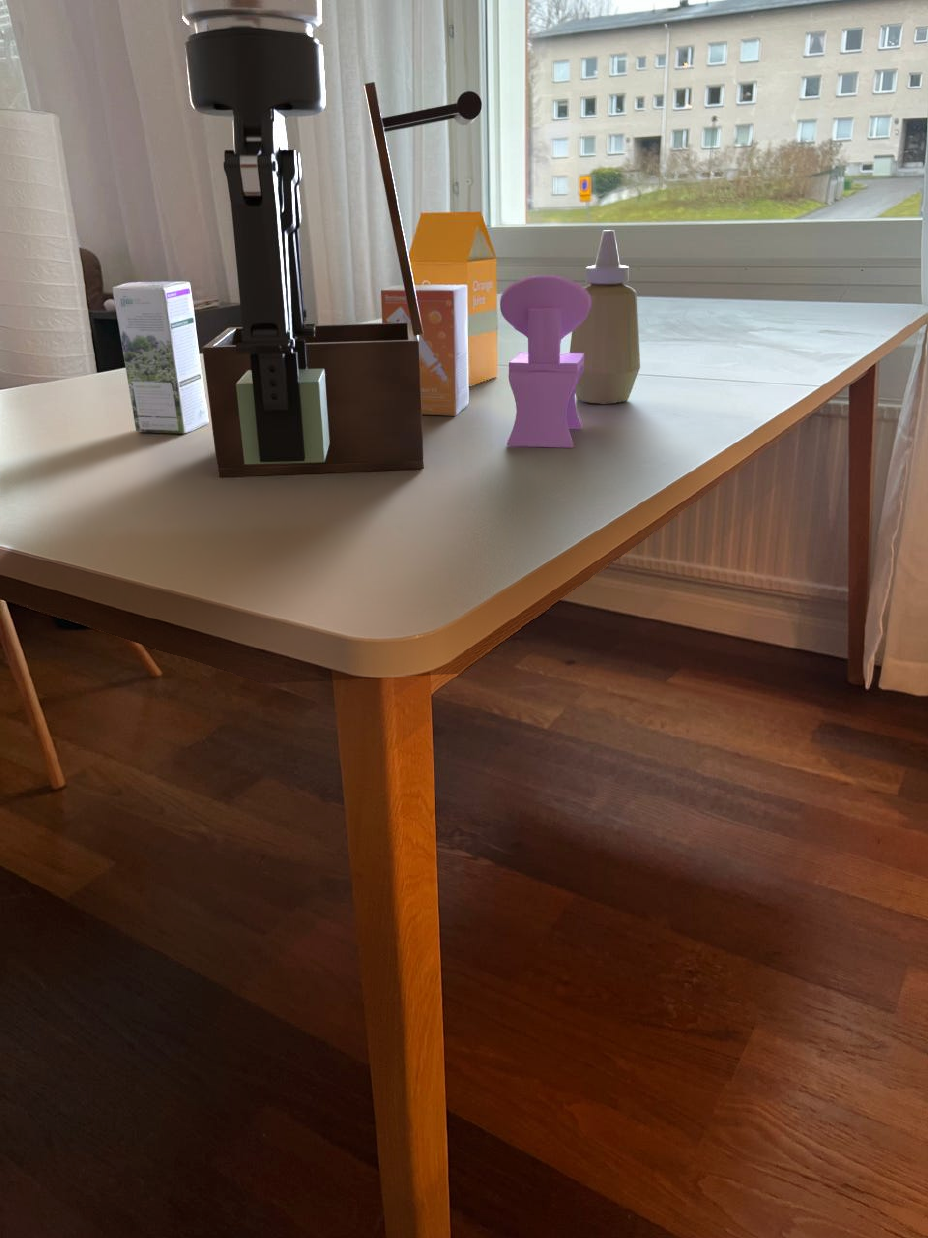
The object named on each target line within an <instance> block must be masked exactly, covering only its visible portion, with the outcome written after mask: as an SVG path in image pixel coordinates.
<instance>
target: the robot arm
mask: <svg viewBox="0 0 928 1238" xmlns="http://www.w3.org/2000/svg"><path fill="white" fill-rule="evenodd" d="M180 4H181V6H180V7H181V12H182V13H181V15H182V19H183V21H184V22H185V23H186V25H188V26H189V27H191V28H193V29H195V33H193V34H191V35H188V37H187V41H185V42H184V52H185V61H186V62H185V63H186V69H187V70H186V71H187V80H188V89H189V90H188V91H189V100H190V104H191V106H192V108H193V109H194V110H195V111H196V112H198V113H199V114H201V115H208V116H214V117H227V118H233V120H232V136H233V137H232V138H233V142H232V143H233V149H224V152H223V153H224V155H223V156H224V161H223V171H224V173H225V176H226V180H227V181H226V182H227V187H228V194H229V201H230V211H231V222H232V232H233V242H234V253H235V263H236V264H235V265H236V275H237V285H238V286H237V287H238V295H239V303H240V304H239V305H240V316H241V327H242V328H243V332H242V334H241V335H242V341H243V343H235V344H236V351H237V354H238V355H249V354H250V360H251V371H252V381H253V392H254V403H255V413H256V424H257V434H258V445H259V456H260V462H291V461H304V460H305V451H304V438H303V424H302V411H301V398H300V384H299V370H298V369H307V356H306V342H305V339H297V337H315V325H316V323H306V322H307V318H308V313H307V311H308V310H306V307H305V292H304V280H303V265H302V252H301V251H302V250H301V238H300V237H301V235H300V228H301V223H302V209H301V199H300V187H299V185H300V182H301V179H302V173H303V172H302V165H301V154H300V151H296V149H289V145H288V144H289V143H288V136H287V129H286V118H289V117H297V118H298V117H299V118H300V117H310V116H316V115H318V114H320V113H322V112H323V110H324V109H325V107H326V85H325V69H324V51H323V45H322V44H321V43H319V42H320V41H319V39H318V38H317V37H314V36H313V32H314V31H315V30H316V29H318V28H319V26H321V25H322V23H323V21H322V20H323V19H322V16H323V15H322V0H180Z"/></svg>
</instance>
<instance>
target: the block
mask: <svg viewBox="0 0 928 1238" xmlns="http://www.w3.org/2000/svg"><path fill="white" fill-rule="evenodd" d="M298 370H299V384H300V398H301V411H302V424H303V438H304V451H305V460H304V461H291V462H260V456H259V445H258V434H257V424H256V413H255V403H254V392H253V381H252V371H251V370H248V371H247V372H246V373H245V374H244V375H243V377H242V378H241V379H240V380H239V381H238V382H237V384H236V389H237V398H238V407H239V417H240V426H241V436H242V445H243V454H244V464H278V463H313V462H325V458H326V455H327V451H328V447H329V444H330V442H329V427H328V413H327V399H326V384H325V370H324V369H298Z"/></svg>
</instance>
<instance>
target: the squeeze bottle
mask: <svg viewBox="0 0 928 1238" xmlns="http://www.w3.org/2000/svg"><path fill="white" fill-rule="evenodd" d="M617 245H618V244H617V240H616V233H615V230H614V229H606V230H605V229H604V230H602V233H601V238H600V242H599V247H598V251H597V255H596V259H595V264H594V265H590V266H586V267H585V277H584V281H585V283H586V284H588V285H586V286H582V287H583V288H584V289H586V290H587V292H588V293H589V295H590V298H591V307H590V310H589V313H588V316H587V317H586V319H585V320H584V321H583V322H582V323H581V324H580V325H579V326H578V327H577V329H576V330H574V331H572V332H571V339H570V346H569V353H584V369H583V372H582V375H581V377H580V379H579V381H578V384H577V387H576V391H575V398H576V399H577V400H578V401H580V402H583V403H587V402H589V403H588V404H593V403H613V404H616V403H615V402H619V403H621V402H620V401H623V402H625V401H624V400H626V401H628V400H629V399H628V398H630V396H631V393H632V390H633V388H634V385H635V383H636V380H637V377H638V374H639V371H640V369H641V359H640V358H641V357H640V356H641V355H640V337H639V318H638V295H637V291H636V289H634V288H633V287H631V286H629V285H626V284H625V283H628V282H629V279H630V277H629V276H630V266H628V265H623V264H621V263H620V258H619V252H618V246H617ZM627 399H628V400H627Z"/></svg>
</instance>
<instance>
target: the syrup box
mask: <svg viewBox="0 0 928 1238" xmlns="http://www.w3.org/2000/svg"><path fill="white" fill-rule="evenodd" d="M111 288H112V293H113V300H114V306H115V312H116V318H117V319H116V320H117V324H118V330H119V336H120V342H121V348H122V355H123V360H124V361H123V362H124V366H125V372H126V378H127V386H128V391H129V396H130V402H131V403H130V404H131V407H132V414H133V421H134V428H135V432H137V433H153V434H182V435H183V434H188V433H190V432H193V431H195V430H198V429H199V428H201V427H204V426H205V425H207V424H209V421H210V420H209V412H208V406H207V399H206V394H205V387H204V380H203V372H202V365H201V357H200V349H199V341H198V334H197V326H196V325H197V323H196V316H195V309H194V300H193V294H192V288H191V283H190V281H132V282H126V283H122V284H119V285H116V286H112V287H111Z"/></svg>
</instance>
